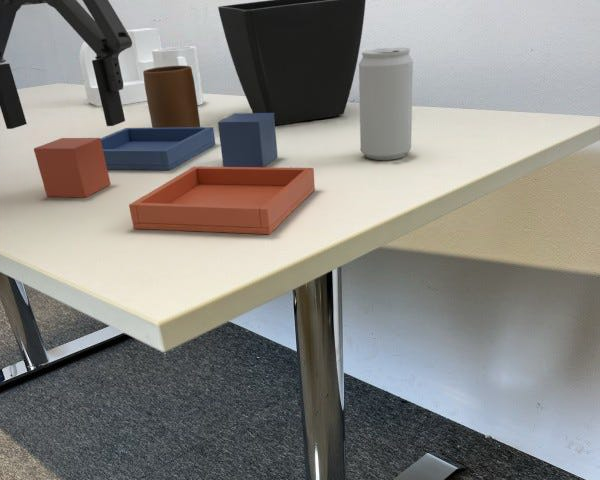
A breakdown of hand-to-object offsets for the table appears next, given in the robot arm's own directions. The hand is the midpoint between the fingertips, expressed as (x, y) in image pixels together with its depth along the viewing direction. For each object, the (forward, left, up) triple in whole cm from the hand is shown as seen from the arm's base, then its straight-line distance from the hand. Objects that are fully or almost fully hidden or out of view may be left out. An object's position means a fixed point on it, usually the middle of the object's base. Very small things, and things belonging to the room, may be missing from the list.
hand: (65, 125), depth 75 cm
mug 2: (-14, +57, -8) cm, 59 cm away
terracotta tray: (+22, -5, -7) cm, 23 cm away
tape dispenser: (-32, +66, -8) cm, 73 cm away
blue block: (+17, +14, -7) cm, 23 cm away
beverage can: (+34, +18, -8) cm, 39 cm away
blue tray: (0, +17, -7) cm, 19 cm away
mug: (-4, +33, -8) cm, 34 cm away
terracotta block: (0, 0, -7) cm, 7 cm away
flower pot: (+13, +45, -8) cm, 47 cm away
